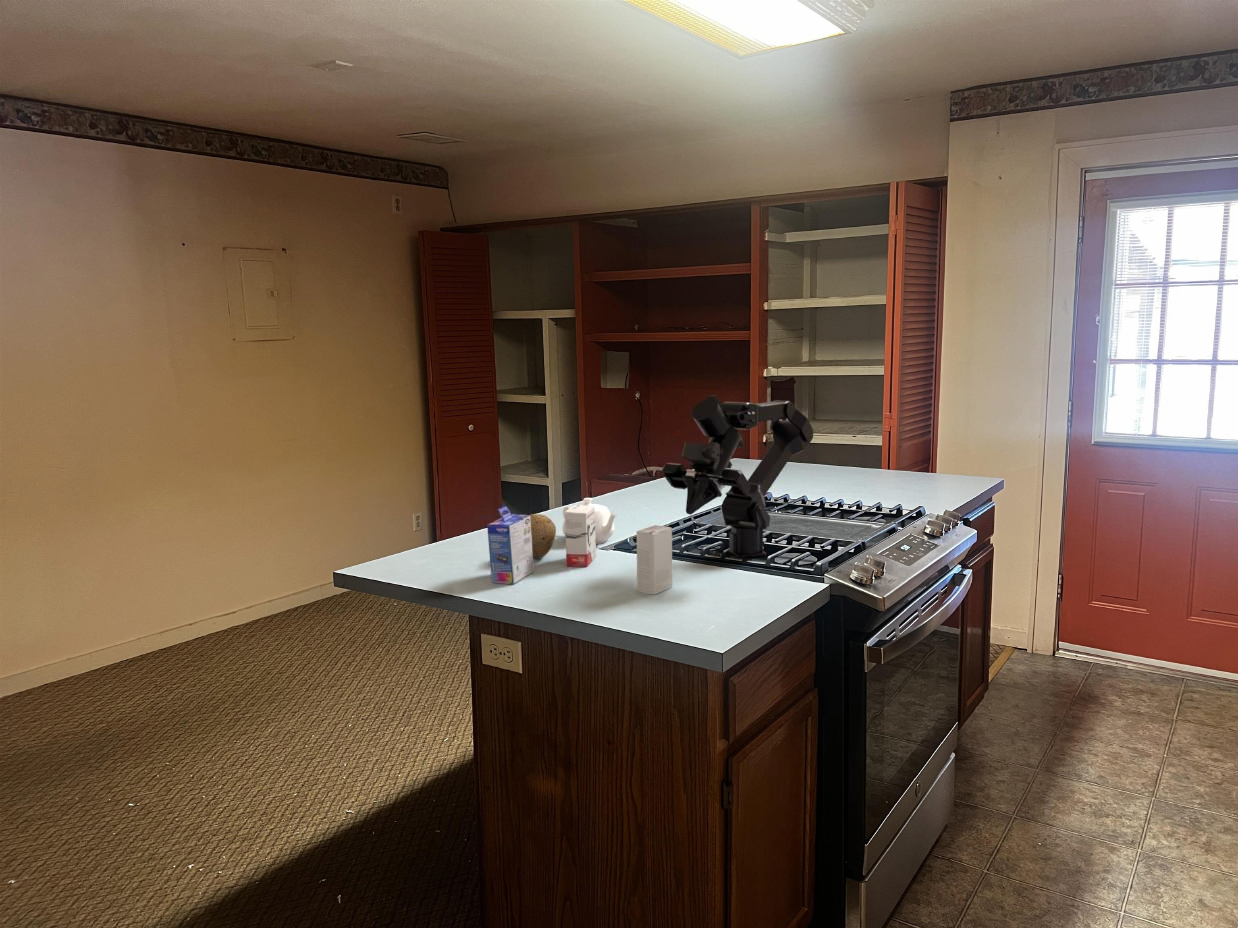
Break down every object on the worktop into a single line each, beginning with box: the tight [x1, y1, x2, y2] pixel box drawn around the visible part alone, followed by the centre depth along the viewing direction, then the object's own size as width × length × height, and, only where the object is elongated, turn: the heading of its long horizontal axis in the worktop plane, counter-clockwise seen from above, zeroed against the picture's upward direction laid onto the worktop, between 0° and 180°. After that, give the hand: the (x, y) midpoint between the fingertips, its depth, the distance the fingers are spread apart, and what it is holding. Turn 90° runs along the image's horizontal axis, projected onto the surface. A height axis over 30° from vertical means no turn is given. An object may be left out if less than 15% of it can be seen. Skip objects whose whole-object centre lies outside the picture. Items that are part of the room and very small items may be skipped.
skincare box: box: [636, 524, 673, 595], centre depth 167 cm, size 6×4×12 cm
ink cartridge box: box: [486, 506, 535, 585], centre depth 177 cm, size 10×6×14 cm, turn 161°
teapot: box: [562, 497, 618, 545], centre depth 207 cm, size 20×12×10 cm, turn 40°
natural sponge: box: [529, 513, 557, 559], centre depth 192 cm, size 9×9×10 cm
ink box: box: [564, 504, 597, 567], centre depth 188 cm, size 9×5×12 cm, turn 168°
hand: (688, 513), depth 174 cm, fingers closed
